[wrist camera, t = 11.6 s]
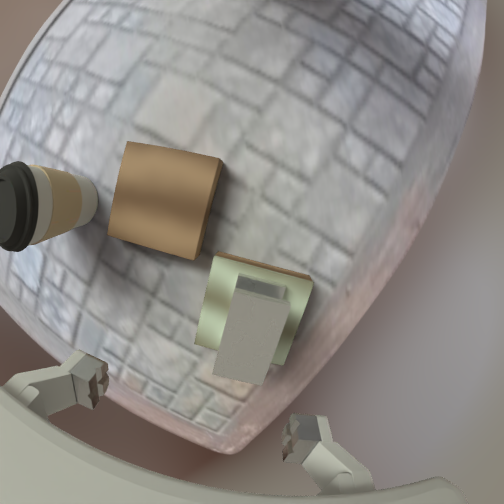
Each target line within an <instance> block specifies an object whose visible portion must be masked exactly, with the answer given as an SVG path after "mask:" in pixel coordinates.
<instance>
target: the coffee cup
mask: <svg viewBox="0 0 504 504" xmlns="http://www.w3.org/2000/svg"><path fill="white" fill-rule="evenodd" d="M97 205H98V195H97V191H96V188H95V186H94V184H93V183H92V182H91V181H90V180H89V179H88V178H86V177H83V176H78V175H74V174H70V173H68V172H65V171H60V170H56V169H51V168H47V167H43V166H38V165H26V164H25V163H23V162H19V161H17V162H13V163H11V164H9V165H6V166H4V167H3V168H1V169H0V246H1V247H2V248H3V249H5V250H7V251H14V252H19V251H22V250H24V249H25V248H26V247H27V246H29V245H35V244H37V243H40V242H42V241H45V240H47V239H50V238H52V237H55V236H57V235H60V234H63V233H65V232H68V231H69V230H71V229H74V228H77V227H79V226H82V225H85V224H87V223H88V222H90V221H91V219H92V218H93V217H94V215H95V213H96V210H97Z"/></svg>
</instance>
